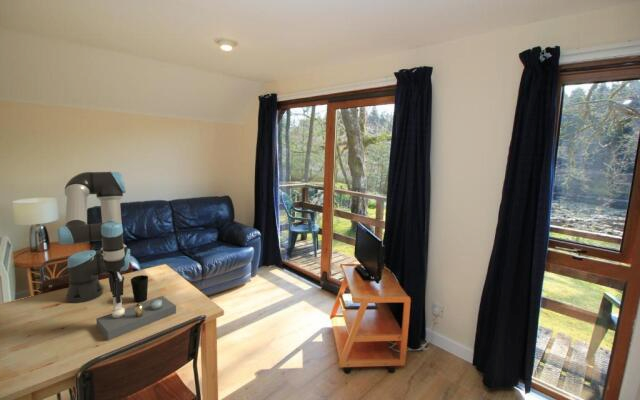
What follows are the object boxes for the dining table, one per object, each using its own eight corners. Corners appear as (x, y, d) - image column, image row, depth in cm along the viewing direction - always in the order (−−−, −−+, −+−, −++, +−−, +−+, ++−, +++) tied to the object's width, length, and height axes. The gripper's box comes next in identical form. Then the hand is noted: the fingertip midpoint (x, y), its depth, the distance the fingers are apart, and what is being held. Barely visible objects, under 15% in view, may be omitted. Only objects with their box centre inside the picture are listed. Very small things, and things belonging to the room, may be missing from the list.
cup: (141, 304, 150) (140, 282, 148) (128, 302, 152) (126, 280, 150) (152, 297, 158) (151, 276, 156) (140, 295, 159) (139, 274, 157)
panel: (97, 326, 131) (96, 318, 130) (162, 303, 153) (162, 295, 152) (108, 340, 123) (107, 331, 122) (176, 313, 145) (175, 305, 144)
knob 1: (110, 323, 133) (109, 310, 132) (123, 319, 137) (122, 306, 136) (114, 327, 131) (113, 314, 129) (127, 323, 134) (126, 309, 133)
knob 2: (149, 315, 141) (148, 302, 140) (159, 311, 145) (159, 298, 144) (153, 318, 138) (153, 305, 137) (164, 314, 142) (163, 302, 141)
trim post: (134, 315, 134) (133, 304, 133) (141, 313, 136) (140, 302, 135) (137, 318, 132) (136, 306, 131) (144, 315, 134) (143, 304, 133)
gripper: (98, 256, 130) (102, 306, 134) (109, 264, 122) (113, 317, 126) (118, 252, 136) (121, 300, 140) (129, 260, 128) (133, 310, 132)
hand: (118, 308), depth 133 cm, fingers closed
